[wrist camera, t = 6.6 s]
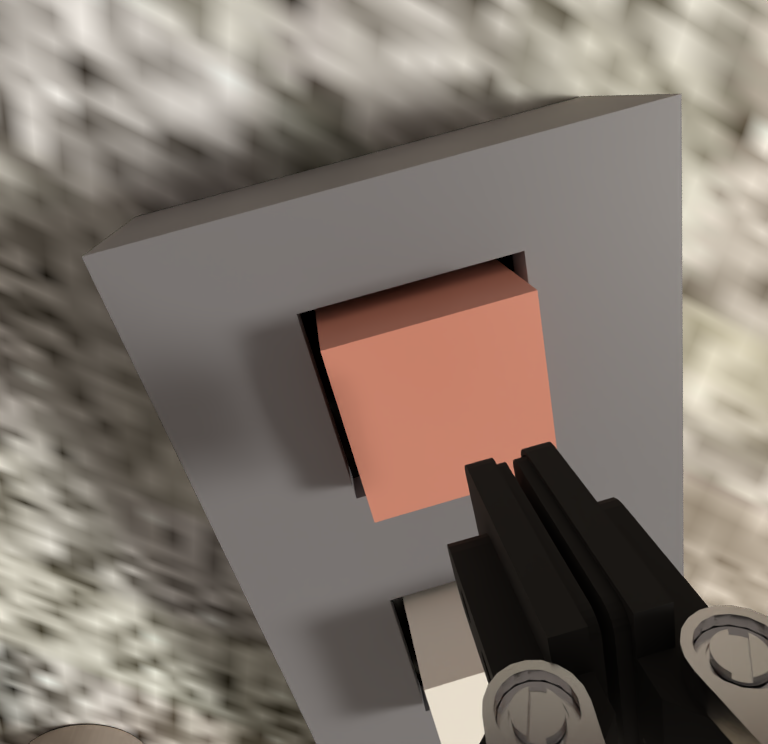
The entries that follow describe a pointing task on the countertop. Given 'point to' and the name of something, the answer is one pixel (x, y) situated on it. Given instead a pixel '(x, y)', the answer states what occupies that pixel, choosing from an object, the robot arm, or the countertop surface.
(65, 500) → the countertop surface
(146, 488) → the countertop surface
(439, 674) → the key white
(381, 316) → the key red
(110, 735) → the coffee cup
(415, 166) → the console
